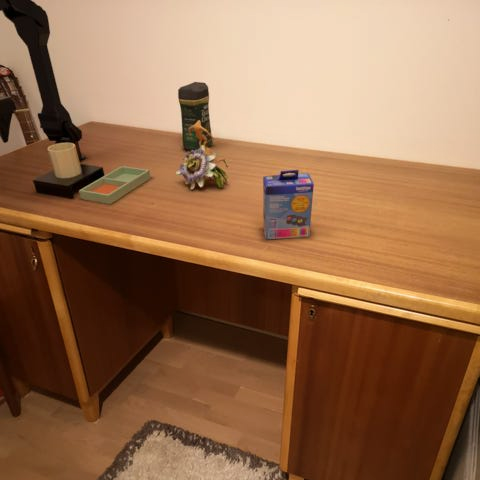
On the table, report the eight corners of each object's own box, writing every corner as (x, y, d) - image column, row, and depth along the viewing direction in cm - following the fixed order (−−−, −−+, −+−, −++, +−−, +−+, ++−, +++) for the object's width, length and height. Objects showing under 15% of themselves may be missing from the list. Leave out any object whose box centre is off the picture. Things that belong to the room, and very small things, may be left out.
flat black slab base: (72, 174, 133) (68, 162, 131) (105, 179, 129) (102, 166, 127) (36, 192, 123) (32, 180, 121) (71, 199, 119) (68, 186, 117)
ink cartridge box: (265, 241, 98) (265, 174, 89) (262, 229, 102) (261, 164, 93) (311, 237, 98) (315, 170, 89) (306, 225, 103) (309, 160, 94)
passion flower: (195, 208, 124) (165, 172, 119) (213, 186, 131) (184, 151, 126) (223, 192, 117) (192, 153, 112) (240, 169, 123) (211, 131, 118)
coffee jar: (201, 153, 142) (195, 87, 131) (179, 150, 145) (172, 86, 134) (216, 144, 149) (212, 80, 138) (195, 141, 152) (190, 79, 141)
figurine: (221, 160, 137) (218, 118, 130) (210, 167, 133) (206, 124, 126) (198, 156, 141) (194, 115, 133) (186, 163, 137) (182, 120, 129)
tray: (123, 173, 132) (121, 165, 130) (150, 178, 129) (149, 169, 127) (81, 199, 119) (78, 190, 118) (110, 204, 116) (108, 195, 114)
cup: (67, 167, 128) (60, 141, 123) (86, 170, 125) (80, 144, 121) (49, 176, 123) (41, 149, 119) (69, 179, 121) (62, 152, 116)
